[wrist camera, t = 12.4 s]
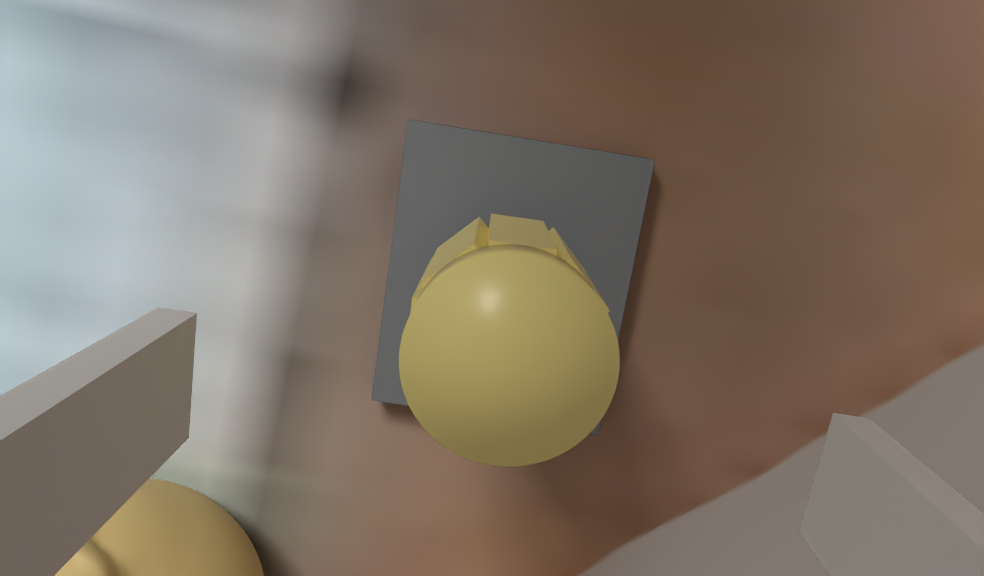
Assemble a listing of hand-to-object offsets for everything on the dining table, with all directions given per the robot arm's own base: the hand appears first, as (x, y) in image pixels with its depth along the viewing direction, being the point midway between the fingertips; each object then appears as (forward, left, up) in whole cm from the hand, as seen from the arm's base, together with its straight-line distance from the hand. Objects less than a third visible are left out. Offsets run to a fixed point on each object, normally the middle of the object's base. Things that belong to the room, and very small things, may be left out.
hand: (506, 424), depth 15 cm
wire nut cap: (0, 0, -13) cm, 13 cm away
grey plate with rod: (0, 0, -17) cm, 17 cm away
